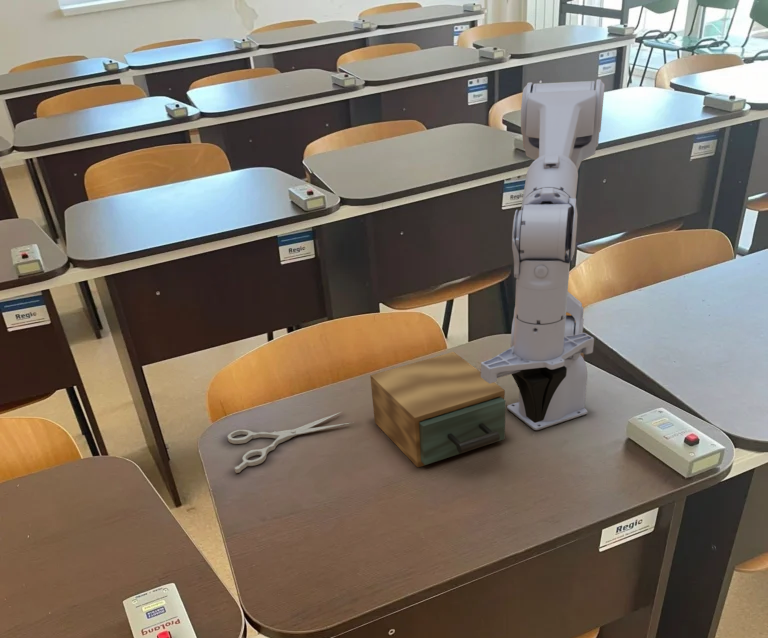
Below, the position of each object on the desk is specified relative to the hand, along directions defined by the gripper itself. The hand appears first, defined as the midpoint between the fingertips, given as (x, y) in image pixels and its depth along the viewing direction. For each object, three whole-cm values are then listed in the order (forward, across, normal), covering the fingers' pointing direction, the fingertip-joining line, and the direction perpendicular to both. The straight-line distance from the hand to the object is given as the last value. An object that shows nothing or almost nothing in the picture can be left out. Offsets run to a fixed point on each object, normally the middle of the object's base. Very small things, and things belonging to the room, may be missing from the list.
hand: (534, 418), depth 94 cm
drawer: (+10, -4, +15) cm, 18 cm away
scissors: (+10, -24, +29) cm, 39 cm away
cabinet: (+10, -4, +19) cm, 22 cm away
